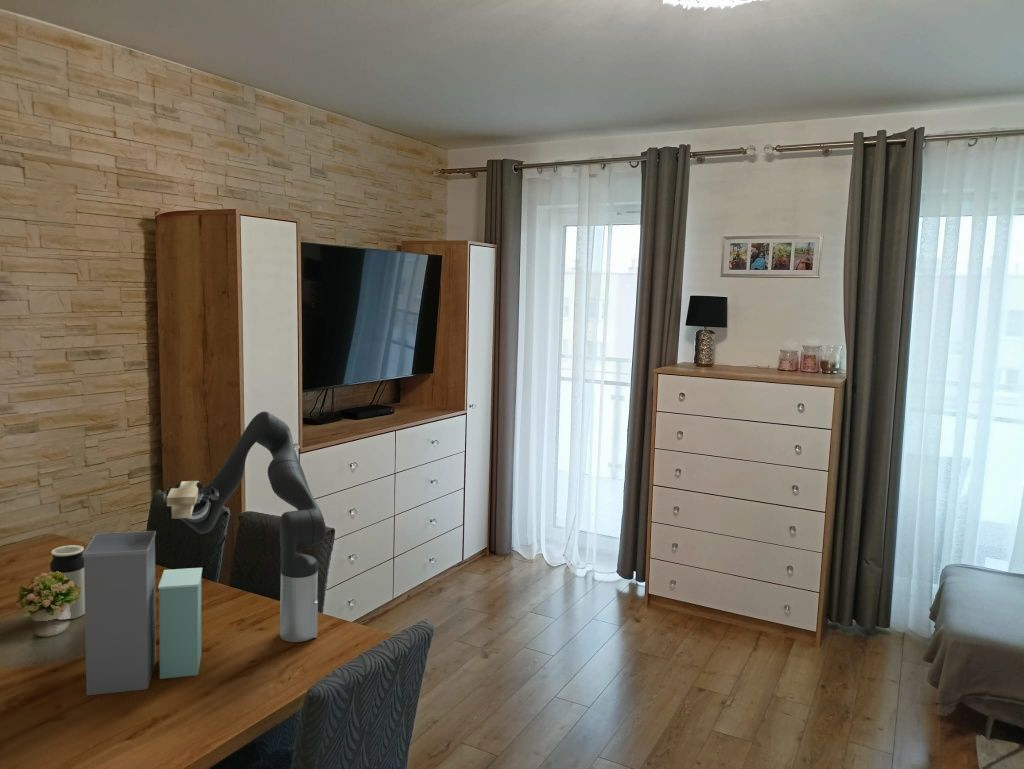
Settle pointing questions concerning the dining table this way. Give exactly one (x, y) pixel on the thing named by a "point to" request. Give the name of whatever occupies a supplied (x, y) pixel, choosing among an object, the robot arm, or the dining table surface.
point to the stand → (120, 611)
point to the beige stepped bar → (183, 499)
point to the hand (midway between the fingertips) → (188, 486)
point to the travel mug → (71, 572)
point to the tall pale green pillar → (180, 622)
